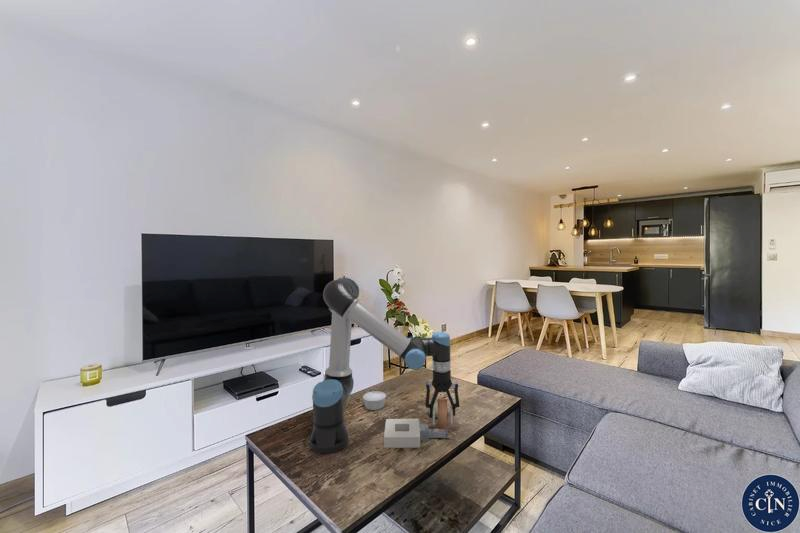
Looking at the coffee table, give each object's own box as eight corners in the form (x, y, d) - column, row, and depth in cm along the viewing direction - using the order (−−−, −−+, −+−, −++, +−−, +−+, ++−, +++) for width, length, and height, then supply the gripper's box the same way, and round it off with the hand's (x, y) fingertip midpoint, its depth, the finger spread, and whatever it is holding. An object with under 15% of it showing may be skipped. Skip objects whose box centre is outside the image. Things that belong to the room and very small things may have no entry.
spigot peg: (438, 430, 142) (437, 402, 142) (437, 425, 146) (437, 398, 146) (448, 430, 142) (447, 402, 142) (446, 425, 146) (446, 398, 146)
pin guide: (419, 441, 135) (419, 430, 135) (419, 433, 140) (419, 424, 140) (429, 440, 135) (428, 430, 135) (428, 433, 140) (428, 424, 140)
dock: (383, 447, 131) (383, 437, 131) (386, 428, 145) (386, 419, 145) (420, 447, 131) (420, 436, 130) (419, 428, 145) (419, 418, 144)
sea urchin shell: (449, 416, 151) (436, 402, 152) (437, 427, 152) (424, 414, 153) (450, 406, 160) (438, 394, 160) (438, 417, 161) (426, 404, 162)
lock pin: (423, 438, 136) (422, 431, 136) (422, 434, 139) (422, 427, 139) (448, 438, 136) (448, 431, 136) (447, 433, 139) (447, 427, 139)
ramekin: (386, 400, 172) (386, 390, 171) (385, 411, 161) (385, 400, 160) (364, 401, 172) (364, 391, 172) (361, 411, 161) (361, 401, 160)
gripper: (418, 373, 140) (419, 427, 141) (466, 372, 139) (467, 427, 140) (417, 366, 147) (419, 418, 148) (463, 366, 147) (464, 418, 148)
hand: (442, 422), depth 144 cm, fingers open, 7 cm apart
